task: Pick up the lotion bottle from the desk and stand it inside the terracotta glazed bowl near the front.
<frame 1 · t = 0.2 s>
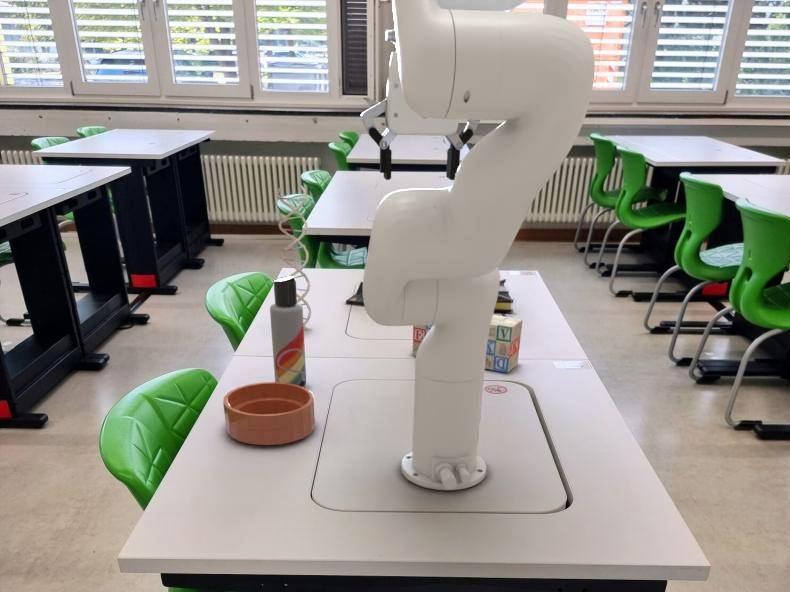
hand: (419, 178, 109), 37 cm above the table, tool pointing down, fingers open, 9 cm apart
lotion bottle: (291, 389, 135), on the table
bowl: (271, 429, 120), on the table
dna model: (298, 333, 164), on the table
calculator: (371, 300, 189), on the table
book: (476, 302, 189), on the table
stack of blocks: (464, 361, 151), on the table
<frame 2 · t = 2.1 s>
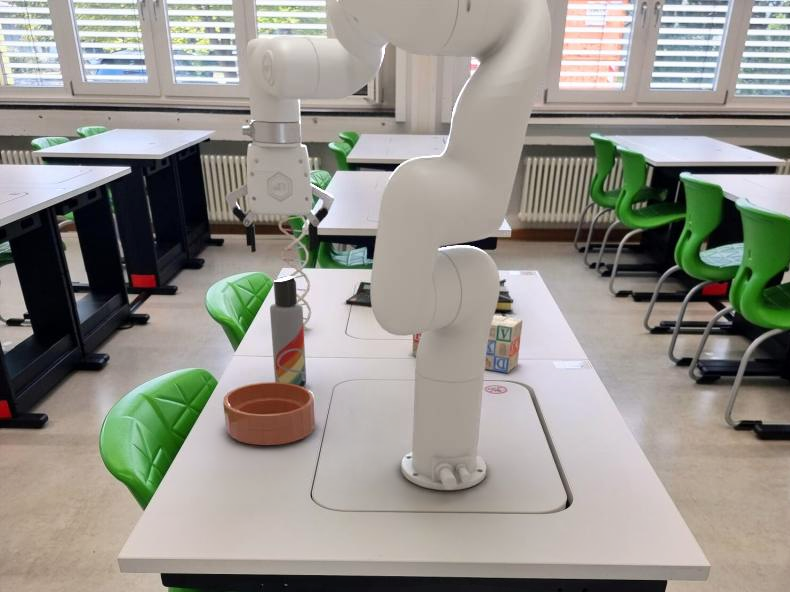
hand: (282, 250, 122), 24 cm above the table, tool pointing down, fingers open, 9 cm apart
nothing on the table moved.
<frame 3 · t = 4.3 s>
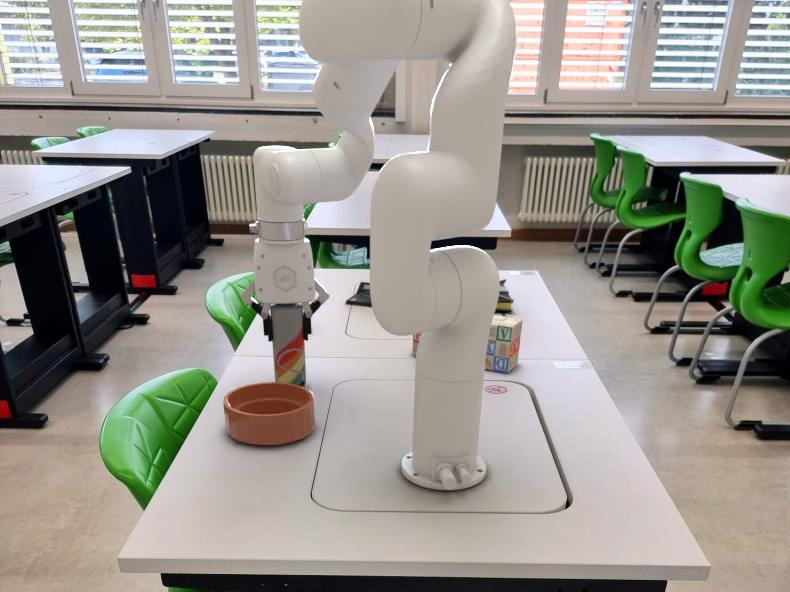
hand: (288, 337, 130), 10 cm above the table, tool pointing down, fingers closed on lotion bottle, 5 cm apart
lotion bottle: (291, 389, 135), on the table, touching gripper
everything else where it was.
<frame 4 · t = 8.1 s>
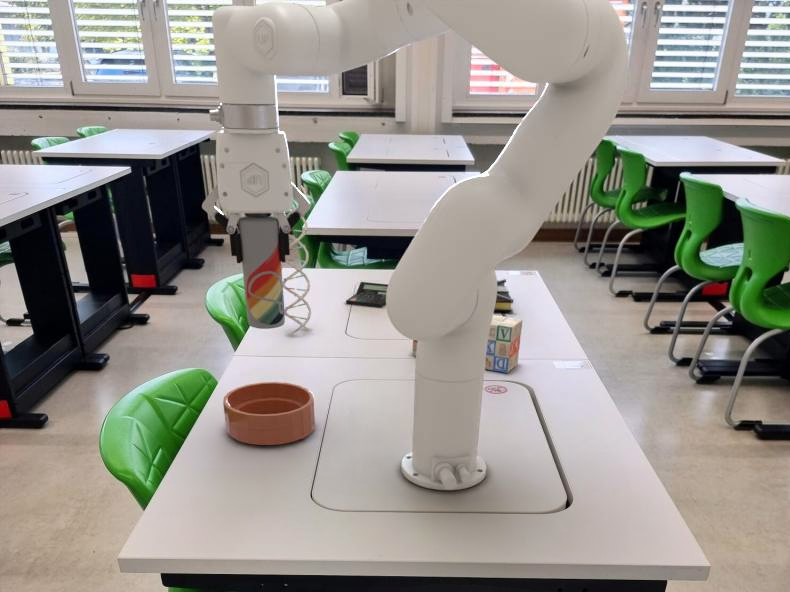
hand: (261, 259, 107), 26 cm above the table, tool pointing down, fingers closed on lotion bottle, 5 cm apart
lotion bottle: (266, 325, 112), point 17 cm above the table, touching gripper
everything else where it was.
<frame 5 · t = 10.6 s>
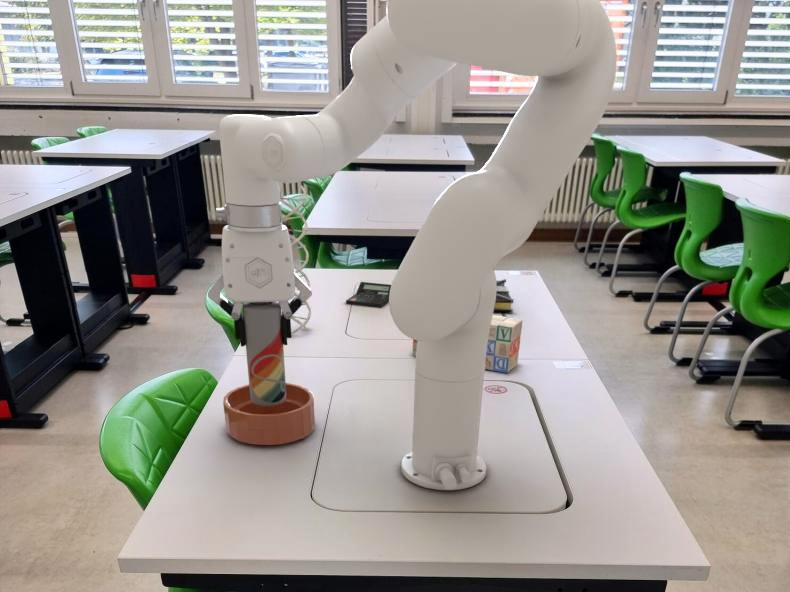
hand: (264, 342, 112), 15 cm above the table, tool pointing down, fingers closed on lotion bottle, 5 cm apart
lotion bottle: (268, 401, 117), point 5 cm above the table, touching gripper
everything else where it was.
when the fingers open (10 cm above the table, at t = 12.2 s): lotion bottle stays where it is, resting on bowl.
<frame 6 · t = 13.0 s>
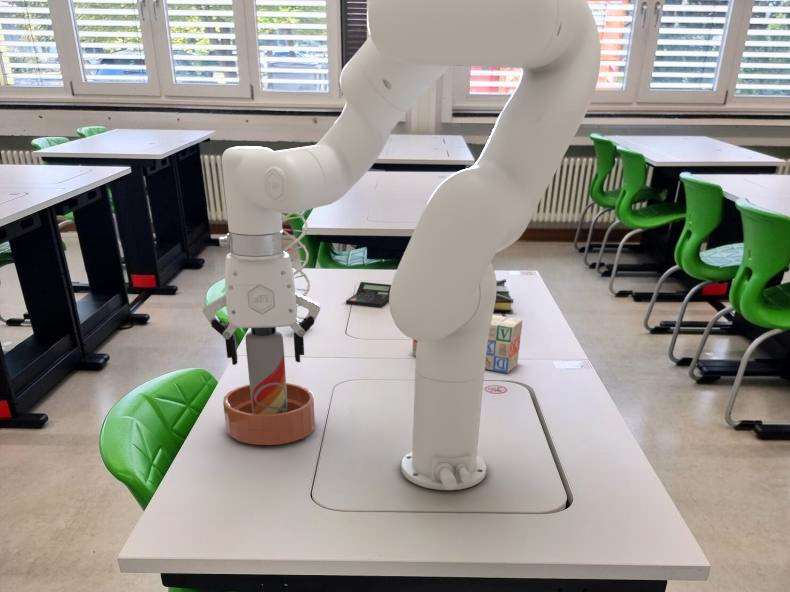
hand: (266, 360, 113), 12 cm above the table, tool pointing down, fingers open, 9 cm apart
lotion bottle: (271, 427, 119), resting on bowl
everything else where it was.
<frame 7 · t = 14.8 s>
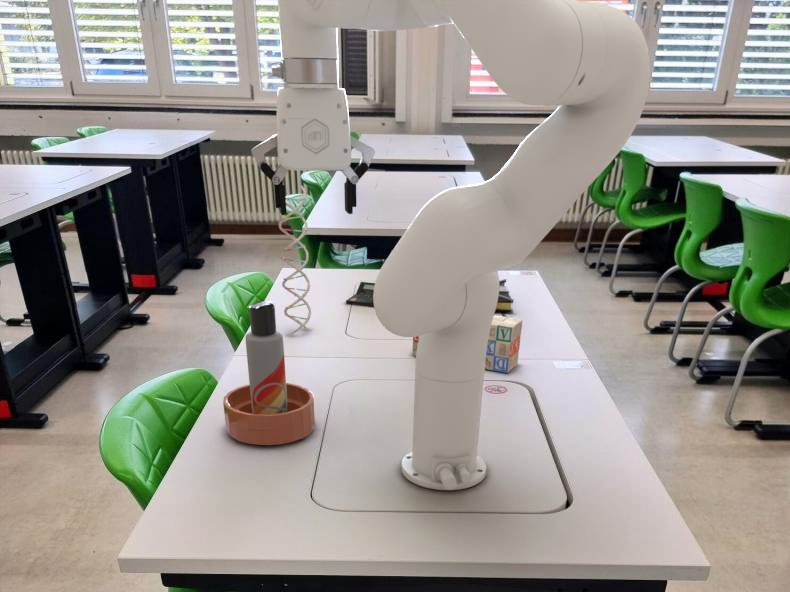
hand: (316, 213, 107), 32 cm above the table, tool pointing down, fingers open, 9 cm apart
nothing on the table moved.
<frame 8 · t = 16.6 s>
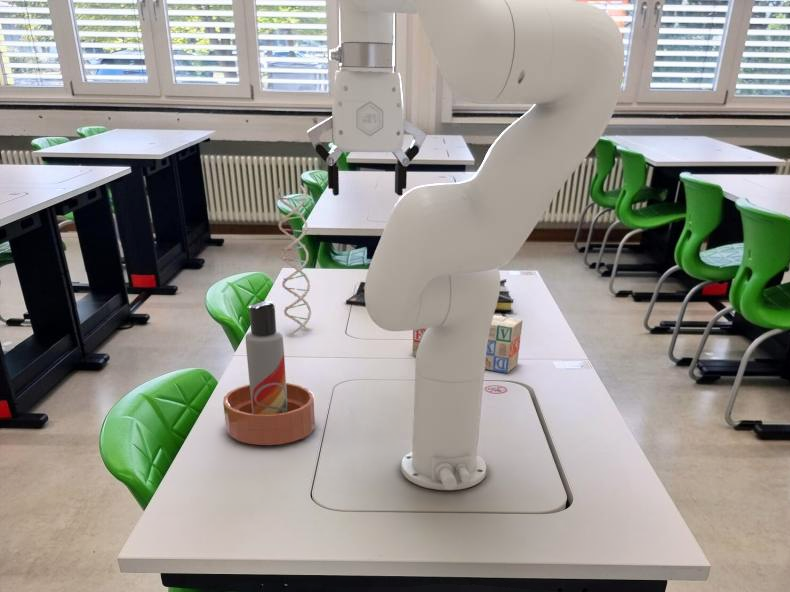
hand: (367, 194, 111), 34 cm above the table, tool pointing down, fingers open, 9 cm apart
nothing on the table moved.
at the end: lotion bottle inside the target area in the bowl (0.0 cm from its centre), point 0.4 cm above the bowl's base; lotion bottle tilted 0°; the gripper is holding nothing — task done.
